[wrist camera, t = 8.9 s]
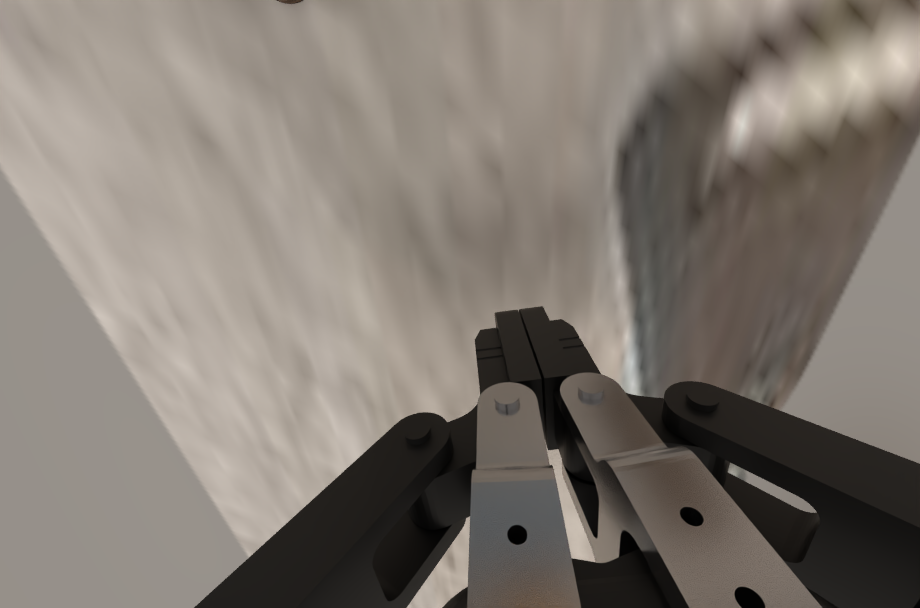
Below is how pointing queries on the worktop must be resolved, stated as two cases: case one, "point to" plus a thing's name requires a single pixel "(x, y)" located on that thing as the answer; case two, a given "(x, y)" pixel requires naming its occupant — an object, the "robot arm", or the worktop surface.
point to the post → (290, 1)
